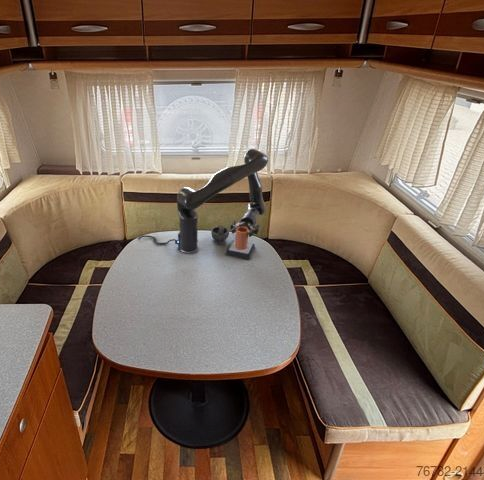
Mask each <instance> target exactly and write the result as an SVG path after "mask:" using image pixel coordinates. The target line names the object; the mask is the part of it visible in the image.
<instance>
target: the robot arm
mask: <svg viewBox="0 0 484 480" xmlns="http://www.w3.org/2000/svg"><path fill="white" fill-rule="evenodd" d="M243 161H244V163H243V164H239V165H233V166H228V167H225V168H223V169H220V170H219V171H217V172H215V173H214V174H213V175H212V176H211V178H210V179H209V181H208V183H207V184H205V186H202V187H201V188H200V189H197V190H194V189H192V188H190V187H188V186H185V187H182V188H181V189H180V190H179V191H178V193H177V196H176V207H177V215H178V219H179V232H178V233H177V237H176V238H171V239H169V240H167V241H166V242H158V241H157V238H156V237H155V236H152V235H146V234H145V235H140V236H139V237H138V238H137V239H139V240H140V239H142V238H151V239H154V243H155V244H157V245H167V244H169V243H170V242H174V244H175V245H177V250H178V251H180V252H181V253H184V254H194V253H195V252H197V251H198V243H199V239H198V233H199V232H198V229H199V228H198V226H199V225H198V224H199V223H198V221H199V220H198V219H199V215H198V213H197V211H196V209H198V208H200V207H201V206H202V205H204V204H205V203H206V202H207V201H209V200H210V199H211V198H213V197H215V196H217V195H219V194H220V193H221V192H223V191H225V190H227V189H228V188H230V187H232V186H233V185H235V184H237V183H239V182H240V181H242V180H243V179H246V178H247V180H248V181H247V182H248V189H249V190H248V191H249V195H248V196H249V200H250V202H248V204H247V206H246V212H245V213H244V215H243V216H242V217H241V219H240V221H239V222H237V220H233V221H232V222H231V223H230V226H229V227H230V229H229V230H231V234H233V235H235V234H236V228H237V227H247V228H248V229H249V236H248V238H251V237H252V236H254V234H255V235H258V233H259V230H260V225H259V224H257V221H258V219H259V217H260V216H263V215H265V214H266V210H267V209H266V203H265V201H264V198H263V186H262V185H263V184H262V182H261V180H260V177H259V174H258V172H260V171H262V170H264V168H265V167H266V166H267V165H268V163H269V157H268V155H266V153H264V152H262V151H260V150H258V149H255V148H250V149H248V150H247V151H246V152H245V153H244V157H243ZM256 224H257V225H256Z"/></svg>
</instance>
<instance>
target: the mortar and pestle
mask: <svg viewBox="0 0 484 480" xmlns="http://www.w3.org/2000/svg"><path fill="white" fill-rule="evenodd" d="M210 234H211V237H212V239H213V243H214V244H216V245H224V244H225V243H226V240H227V239H228V238H229V236H230V229H229V228H227V227H225V226H224V225H219V226H213V227H212V228H211V229H210Z"/></svg>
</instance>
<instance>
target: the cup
mask: <svg viewBox="0 0 484 480" xmlns="http://www.w3.org/2000/svg"><path fill="white" fill-rule="evenodd" d="M234 240H235V248H237V249H240V250H244V249H246V248H247V246H248V243H249V229H248V228H247V227H236V231H235V236H234Z"/></svg>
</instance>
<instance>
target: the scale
mask: <svg viewBox="0 0 484 480" xmlns="http://www.w3.org/2000/svg"><path fill="white" fill-rule="evenodd" d="M255 246H256V244H255V243H250V242H248V246H247V248H246V249H244V250H240V249H237V248H235V239H232V240H231V242H230V244H229V245H228V247H227V249H226V251H225V255H226V256H228V257H229V256H230V257H235V258H238V259H239V258H240V259H244V260H248V261H249V260H250V259H251V256H252V254H253V253H254V250H255V248H256V247H255Z"/></svg>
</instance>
